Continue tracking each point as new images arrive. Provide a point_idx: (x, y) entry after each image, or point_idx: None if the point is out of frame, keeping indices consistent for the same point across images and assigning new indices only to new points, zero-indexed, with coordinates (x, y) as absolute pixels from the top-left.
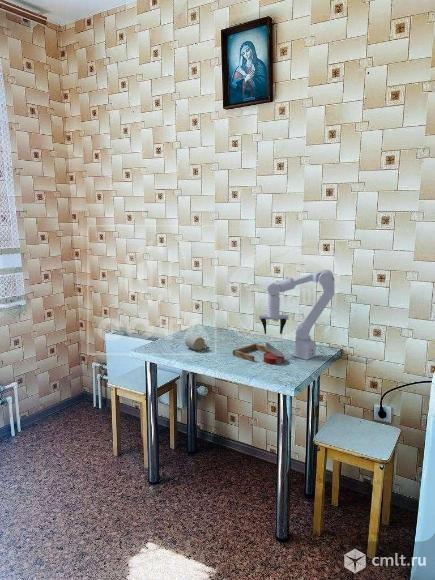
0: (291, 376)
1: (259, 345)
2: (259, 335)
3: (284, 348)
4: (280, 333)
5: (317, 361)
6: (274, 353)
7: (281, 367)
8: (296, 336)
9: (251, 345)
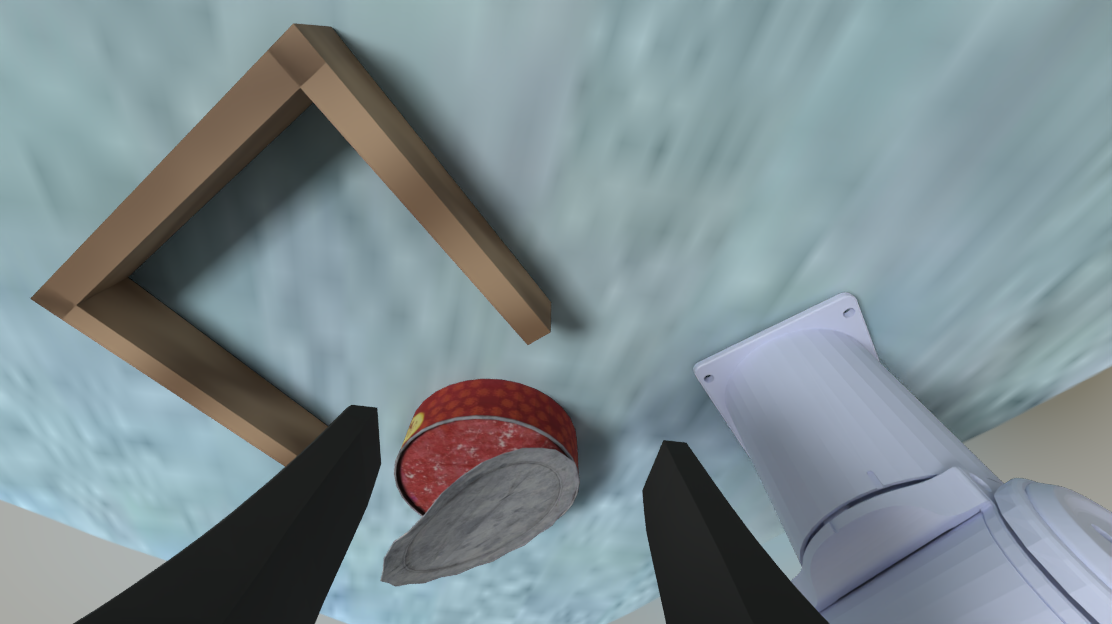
0: (537, 613)
1: (366, 157)
2: None
3: (744, 122)
4: (644, 503)
5: None
6: (476, 554)
7: None
8: (852, 530)
9: (239, 134)
